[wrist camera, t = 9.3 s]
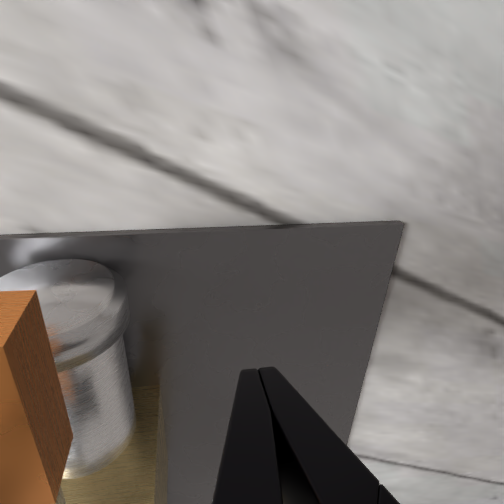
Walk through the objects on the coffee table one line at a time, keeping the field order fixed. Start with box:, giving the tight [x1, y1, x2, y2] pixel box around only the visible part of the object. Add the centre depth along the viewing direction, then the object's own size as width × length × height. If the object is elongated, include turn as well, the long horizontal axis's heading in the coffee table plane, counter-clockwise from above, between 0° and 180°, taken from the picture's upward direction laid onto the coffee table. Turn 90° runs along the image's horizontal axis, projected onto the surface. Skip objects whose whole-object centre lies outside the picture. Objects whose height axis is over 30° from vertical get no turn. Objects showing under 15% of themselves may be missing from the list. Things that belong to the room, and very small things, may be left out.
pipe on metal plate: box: [0, 221, 404, 504], centre depth 18 cm, size 24×22×7 cm
